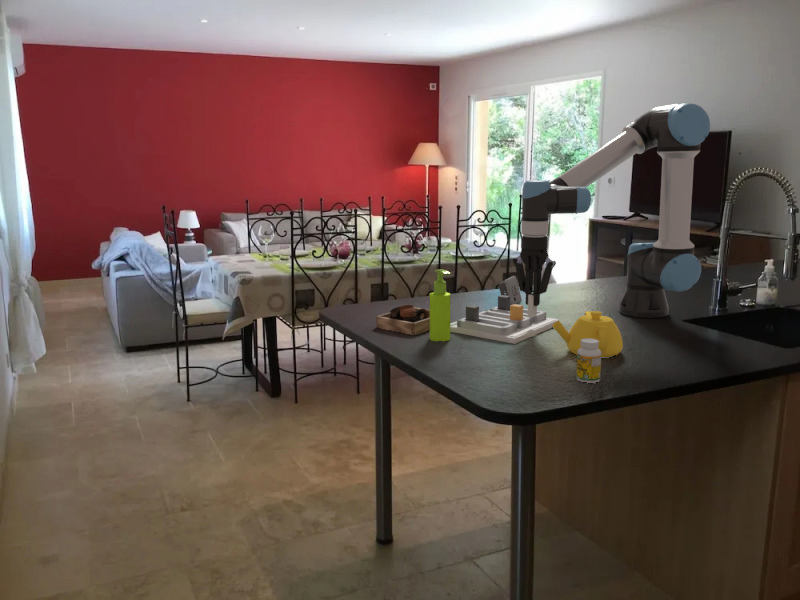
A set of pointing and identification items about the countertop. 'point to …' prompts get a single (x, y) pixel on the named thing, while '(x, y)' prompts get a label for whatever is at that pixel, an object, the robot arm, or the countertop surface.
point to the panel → (505, 338)
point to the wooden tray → (403, 324)
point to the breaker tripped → (516, 312)
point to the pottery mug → (408, 313)
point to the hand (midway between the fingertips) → (532, 316)
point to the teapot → (592, 333)
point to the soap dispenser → (440, 309)
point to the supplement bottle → (589, 361)
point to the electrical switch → (511, 290)
